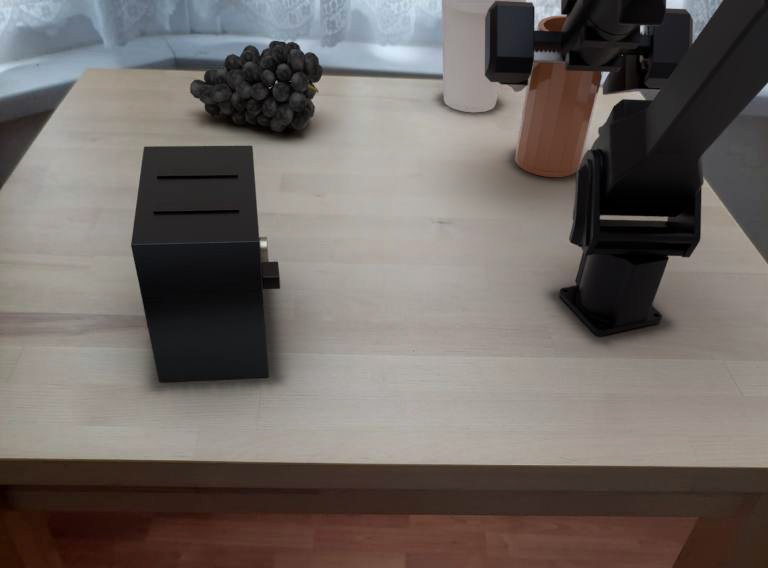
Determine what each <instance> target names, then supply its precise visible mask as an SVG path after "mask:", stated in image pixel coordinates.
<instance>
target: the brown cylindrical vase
mask: <svg viewBox="0 0 768 568" xmlns="http://www.w3.org/2000/svg"><path fill="white" fill-rule="evenodd" d="M565 21H566V15H551V16H548V17H543V18H541V20H539V22H538V23H537V29H536V31H560V32H561V30H562V27H563V25H564V23H565ZM541 53H542V52H541ZM545 53H546V52H545ZM549 53H550V52H549ZM554 53H555V52H554ZM558 53H559V52H558ZM603 74H604V72H595V71H568V70H566V63H541V62H533V67H532V72H531V75H530V77H529V79H528V85H527V86H526V90H525V95H524V96H525V97H524V102H523V107H522V114H521V119H520V123H519V124H520V125H519V130H518V135H517V141H516V146H515V147H516V148H515V155H514V161H515V163H516V165H517V166H518V167H519V168H521V169H522V170H523V171H525V172H527V173H530V174H533V175H535V176H536V175H537V176H541V177H546V178H563V177H568V176H572V175H574V174H576V173H577V171H578V170H579V166H580V164H581V163H582V161H583V158H584V154H585V153H584V152H585V150H586V149H585V148H586V144H587V140H588V136H589V132H590V128H591V124H592V119H593V116H594V111H595V107H596V103H597V100H598V94H599V91H600V86H601V82H602V78H603Z"/></svg>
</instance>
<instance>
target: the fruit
mask: <svg viewBox="0 0 768 568" xmlns="http://www.w3.org/2000/svg"><path fill="white" fill-rule="evenodd" d="M319 59H320V58H319V57H318V56H317V55H316V54H315V53H314V52H312V51H308V52H306V53H305V52H304V51H302V49H301V46H300V45H299V44H298V43H297V42H294V41H288V42H285V41H282V40H272V41H270V42H269V44H268V47H267V48H264V49H262V51H261V52H260V51H259V49H258V48H257V47H256V46H254V45H251V44H249V45H246V46H245V47H244V48H243V50H242V52H241V53H240V55H239V56H238V54H237V55H236V54H234V53H231V54H228V55H226V57H225V59H224V64H223V65H224V68H221V69H218V70H217V69H215V68H211V69H207V70H205V72H204V75H203V79H194V80H193V81H192V82H190V85H189V93H190V94H191V96H192V97H193V98H194V99H198V100H199V101H200V102H201V103H203V105H204V111H205V112H206V114H208V115H209V116H211V117H218V116H220V114H221V115H222V116H223V117H225V118H227V119H232V121H233V122H234V124H237V125H239V126H242V125H244V124H245V123H246V122H248V123H249V124H252V125H256V124H257V123H258V124H259V125H260V126H262V127H265V128H270V129H271V131H272V132H275V133H282V132H283V131H284V130H285V129H286V128H289V129H290V130H294V129H295V130H304V129H305V128H306V127H307V126H308V123H309V121H310V119H311V118H313V117H314V115H315V110H316V106H315V104H314V102H313V99H314V98H315V96H316V94H317V93H320V91H319V88H316V86H315V84H316V83H319V82H320V80H321V79H322V76H323V71H324V69H323V67H322V65H321V64H320V61H319ZM276 82H277V83H276Z"/></svg>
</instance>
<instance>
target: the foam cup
mask: <svg viewBox="0 0 768 568" xmlns="http://www.w3.org/2000/svg"><path fill="white" fill-rule="evenodd" d="M495 1H511V2H527V0H441V40H442V41H441V42H442V43H441V44H442V45H441V46H442V93H443V102H444V104H445V105H446V106H448V107H449V108H451V109H453V110H457V111H460V112H466V113H473V114H474V113H484V112H485V113H486V112H487V111H490V110H493V109H494V108H495V107H496V105H497V101H498V98H499V94H500V91H501V88H502V85H501V84H499V83H498V82H490V81H489V80H488V79H487V77H486V76H485V17H486V15H487V12H488V9H489V8H490V7H491V5H492V4H493V3H494V2H495Z"/></svg>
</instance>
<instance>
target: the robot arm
mask: <svg viewBox="0 0 768 568" xmlns="http://www.w3.org/2000/svg"><path fill="white" fill-rule="evenodd" d="M535 13H536V11H535V5H534V3H533V2H531V1H526V2H511V1H495V2H494V3H493V4H492V5H491V7H490V8H489V9H488V12H487V15H486V17H485V76H486V77H487V79H488V80H489V81H490V82H498V83H499V84H501V86H502V85H503V86H508V87H510V88H512V90H513V92H515V93H519V92H521V91H522V90H524V89H525V88H527V85H528V79H529V77H530V75H531V72H532V67H533V62H541V63H566V70H568V71H595V72H603V73H608V74H607V76H606V77H605V80H604V82H602V83H603V84H602V95H603V96H610V95H617V94H627V93H628V94H629V93H636V92H637V93H638V92H645V91H648V92H649V91H658V93H656V95H655V97H654V98H653V99H630V98H629V99H628V98H627V99H626V98H622V99H621V100H619V101H618V102H617V103H616V104H614V105H613V107H612V109H611V111H610V113H609V115H608V117H607V119H606V121H605V122H604V123H603V124H602V125H601V126H599V127H598V129H597V133H598V137H597V138H596V139H595V140H594V142H593V144H592V146H591V147H590V149H588V150H587V151H586V152H585V153H584V154H583V157H582V161H581V163H580V166H579V169H578V171H577V172H576V173H575V174H576V175H575V191H574V202H573V209H572V225H571V228H570V232H569V238H568V240H569V242H570V243H571V244H572V245H575V246H577V247H578V248H581V250H582V253H581V258H580V262H579V266H578V269H577V273H576V277H575V279H574V280H575V285H571V286H566V287H565V286H564V287H561V288H560V289H559V292H558V296H559V297H560V298H561V299H562V300H563V302H565V304H567V306H568V307H569V308H570V309H571V310H572V311H573V312H574V313H575V314H576V315H577V316H578V317H579V318H580V319H581V320H582V321H583V323H584V324H585V325H586V326H587V327H588V328H589V329H590V330H591V331H592V332H593V333H594V334H595V335H597V336H603V335H609V334H614V333H618V332H622V331H627V330H632V329H637V328H641V327H646V326H649V325H655V324H660V323H661V321H662V320H663V315H662V314H661V312H660V311H658V310H657V308H655V307H654V306H653V304H654V301H655V298H656V295H657V293H658V290H659V287H660V285H661V282H662V278H663V276H664V274H665V270H666V268H667V265H668V262H669V259H670V257H681V258H691V256H692V255H693V252H694V251H695V250H696V248H697V246H698V245H699V243H700V241H701V237H702V234H701V233H702V190H703V189H702V188H703V185H704V181H705V180H704V154H705V153H706V151H708V149H709V148H710V147H711V146H713V144H714V143H715V142H716V141H717V139H718V138H719V137H720V136H721V135H722V134H723V133H724V132H725V131H726V129H728V127H729V126H731V124H732V123H733V122H734V121H735V120H736V119H737V117H739V115H740V114H741V113H742V112H743V111H744V110H745V109H746V108H747V107H748V105H750V103H751V102H752V101H753V100H754V99H755V98H756V97H757V96H758V94H760V92H762V90H763V89H764V88H765V87H766V86H767V85H768V0H722V1H721V2H720V4H719V5H718V7H717V8H716V10H715V11H714V12H713V14H712V16H711V17H710V18H709V19H708V21H707V22H706V24H705V25H704V26H703V28H702V30H701V31H700V32H699V34H698V36H697V37H696V38H695V40H694V39H693V33H694V19H693V17H692V15H691V13H690V12H689V11H688V9H686V8H671V7H670V8H667V0H560V16H562V15H565V16H566V21H565V23H564V25H563V27H562V30H561V32H560V31H537V29H535V17H536V16H535ZM693 40H694V41H693ZM541 52H542V53H541ZM545 52H546V53H545ZM549 52H550V53H549ZM554 52H555V53H554ZM558 52H559V53H558ZM601 216H613V217H614V216H619V217H654V218H655V217H656V218H657V217H658V218H667V220H648V219H647V220H645V219H644V220H643V219H642V220H641V219H640V220H639V219H606V218H605V219H604V218H603V219H602V218H601Z"/></svg>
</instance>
